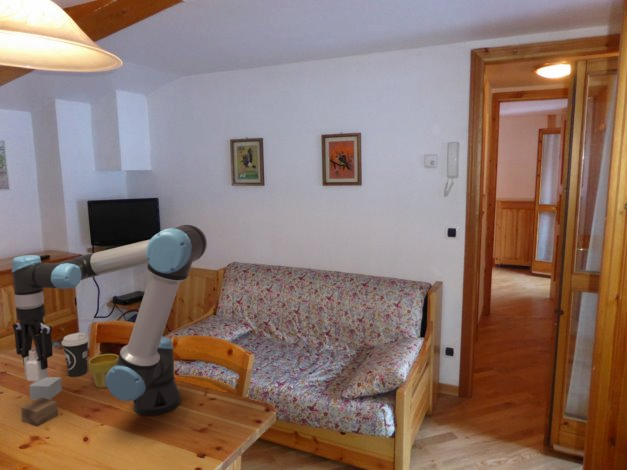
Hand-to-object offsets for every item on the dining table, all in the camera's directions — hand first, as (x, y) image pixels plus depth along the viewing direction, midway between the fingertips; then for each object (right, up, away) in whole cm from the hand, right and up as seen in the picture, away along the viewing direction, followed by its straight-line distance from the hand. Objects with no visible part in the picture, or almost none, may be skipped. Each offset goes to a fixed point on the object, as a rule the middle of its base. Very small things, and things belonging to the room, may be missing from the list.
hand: (36, 377), depth 143 cm
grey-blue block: (-7, -12, +18) cm, 23 cm away
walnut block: (0, -14, +2) cm, 14 cm away
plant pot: (+10, -11, +26) cm, 30 cm away
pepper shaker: (0, -1, 0) cm, 1 cm away
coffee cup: (-5, -10, +35) cm, 36 cm away
